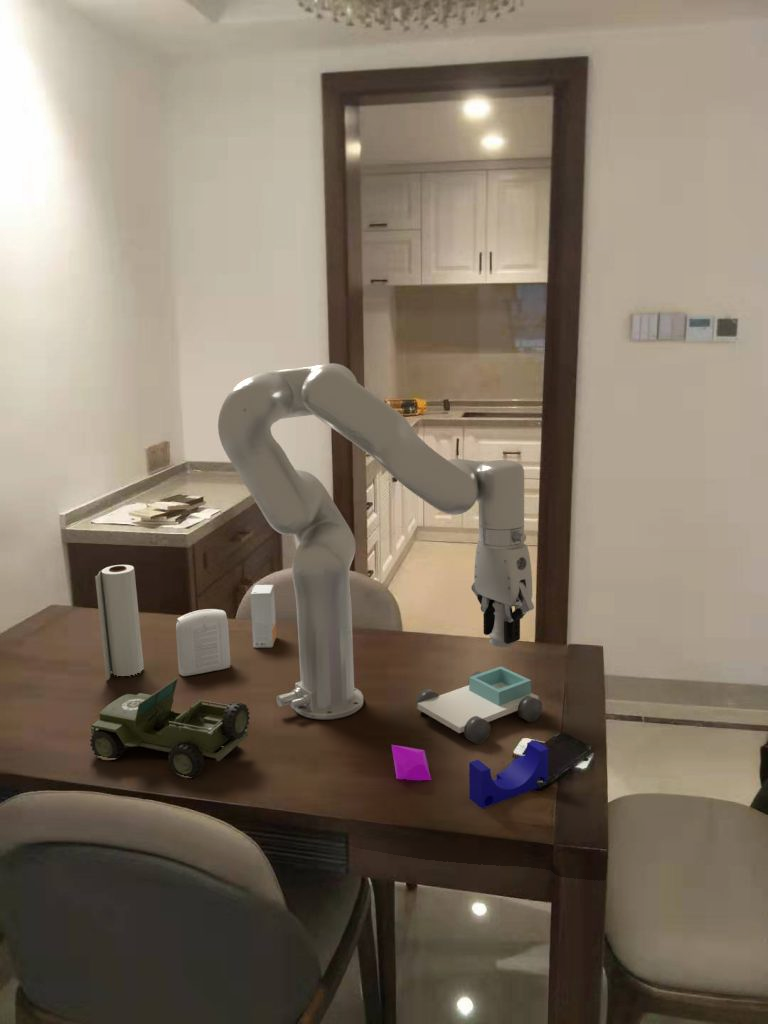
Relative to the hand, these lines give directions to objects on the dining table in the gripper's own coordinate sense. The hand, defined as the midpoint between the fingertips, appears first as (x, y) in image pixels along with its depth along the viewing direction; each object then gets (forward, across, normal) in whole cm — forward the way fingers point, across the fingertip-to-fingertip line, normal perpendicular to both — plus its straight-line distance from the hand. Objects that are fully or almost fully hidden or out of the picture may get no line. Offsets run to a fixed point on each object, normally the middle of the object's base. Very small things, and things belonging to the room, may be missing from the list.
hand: (501, 636), depth 151 cm
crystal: (+14, -8, +26) cm, 31 cm away
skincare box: (+13, +53, +18) cm, 58 cm away
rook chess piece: (+2, 0, 0) cm, 2 cm away
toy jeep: (+13, +21, +52) cm, 58 cm away
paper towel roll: (+13, +57, +47) cm, 75 cm away
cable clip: (+14, -19, +17) cm, 30 cm away
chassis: (+13, 0, +5) cm, 14 cm away
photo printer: (+13, +48, +34) cm, 61 cm away
